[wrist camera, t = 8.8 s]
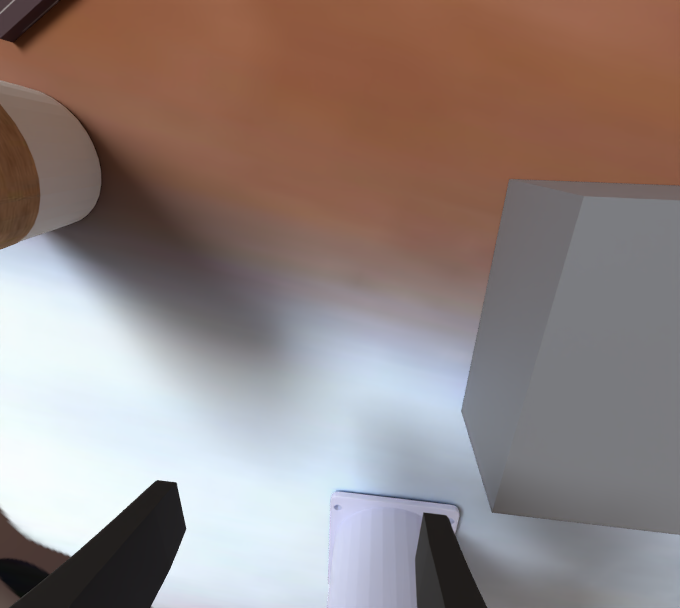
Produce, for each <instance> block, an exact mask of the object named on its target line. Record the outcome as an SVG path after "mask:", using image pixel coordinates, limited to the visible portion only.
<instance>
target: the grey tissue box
mask: <svg viewBox="0 0 680 608" xmlns="http://www.w3.org/2000/svg"><path fill="white" fill-rule="evenodd" d="M461 412H462V415H463V418H464V421H465V425H466V428H467V431H468V435H469V438H470V441H471V445H472V448H473V451H474V455H475V458H476V461H477V465H478V468H479V471H480V475H481V478H482V481H483V485H484V488H485V491H486V495H487V498H488V501H489V505H490V508H491V511H492V513H501V514H509V515H517V516H526V517H534V518H543V519H551V520H560V521H568V522H577V523H585V524H593V525H602V526H610V527H619V528H627V529H636V530H644V531H652V532H661V533H669V534H678V535H680V186H673V185H648V184H622V183H597V182H571V181H546V180H520V179H509V183H508V188H507V193H506V198H505V203H504V207H503V212H502V217H501V222H500V227H499V232H498V236H497V241H496V246H495V251H494V256H493V261H492V265H491V270H490V275H489V280H488V285H487V289H486V294H485V299H484V304H483V309H482V314H481V318H480V323H479V328H478V333H477V338H476V343H475V347H474V352H473V357H472V362H471V367H470V371H469V376H468V381H467V386H466V391H465V396H464V400H463V405H462V410H461Z"/></svg>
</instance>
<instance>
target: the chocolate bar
mask: <svg viewBox="0 0 680 608" xmlns="http://www.w3.org/2000/svg"><path fill="white" fill-rule="evenodd" d="M59 1H60V0H0V39H3V40H6V41H10V42H14V41H15V40H16V39H17V38H18V37H19V36H21V35H22V34H23V33H24V32H25V31H26V30H27V29H29V28H30V27H31V26H32V25H33V24H34V23H35V22H36V21H38V20H39V19H40V18H41V17H42V16H43V15H44V14H45V13H47V12H48V11H49V10H50V9H51V8H52V7H53V6H54V5H56V4H57V3H58V2H59Z"/></svg>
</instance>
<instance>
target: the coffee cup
mask: <svg viewBox="0 0 680 608" xmlns="http://www.w3.org/2000/svg"><path fill="white" fill-rule="evenodd" d="M100 189H101V168H100V163H99V158H98V156H97V153H96V150H95V147H94V145H93V143H92V141H91V139H90V137H89V135H88V134H87V132H86V130H85V129H84V128H83V126H82V125H81V123H80V122H79V121H78V119H77V118H76V117H75V116H74V115H73V114H72V113H71V112H70V111H69V110H68V109H67V108H66V107H64V106H63V105H62V104H60V103H59V102H57V101H56V100H55V99H53V98H52V97H50V96H48V95H46V94H44V93H42V92H40V91H36V90H33V89H30V88H26V87H23V86H19V85H16V84H12V83H8V82H4V81H1V80H0V249H3V248H6V247H8V246H11V245H13V244H16V243H18V242H20V241H23V240H26V239H29V238H31V237H34V236H37V235H40V234H43V233H46V232H49V231H52V230H55V229H58V228H61V227H64V226H67V225H69V224H72V223H74V222H77V221H79V220H81V219H83V218H84V217H85V216H87V215H88V214H89V213H90V212H91V210H92V209H93V208H94V206H95V204H96V202H97V200H98V197H99V194H100Z"/></svg>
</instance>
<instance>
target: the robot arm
mask: <svg viewBox="0 0 680 608" xmlns="http://www.w3.org/2000/svg"><path fill="white" fill-rule="evenodd" d="M459 516H460V515H459V509H458V508H457V507H456V506H454V505H449V504H440V503H432V502H423V501H415V500H406V499H398V498H389V497H381V496H372V495H364V494H355V493H347V492H334V493H332V494H331V499H330V529H329V564H328V584H329V592H328V600H327V608H487V606H486V604H485V602H484V600H483V598H482V596H481V594H480V592H479V590H478V588H477V585H476V583H475V581H474V579H473V577H472V574H471V572H470V570H469V568H468V565H467V563H466V561H465V558H464V556H463V554H462V551H461V549H460V546H459V544H458V541H457V539H456V536H455V533H456V529H457V525H458V521H459ZM185 531H186V526H185V521H184V516H183V511H182V507H181V502H180V497H179V492H178V488H177V483H176V482H168V481H159V480H157V481H155V482H154V483H153V484H152V485H151V486H150V487H149V488H147V489H146V490H145V491H144V492H143V493H142V494H141V495H140V496H139V497H138V498H137V499H135V500H134V501H133V502H132V503H131V504H130V505H129V506H128V507H127V508H126V509H125V510H123V511H122V512H121V513H120V514H119V515H118V516H117V517H116V518H115V519H114V520H112V521H111V522H110V523H109V524H108V525H107V526H106V527H105V528H104V529H102V530H101V531H100V532H99V533H98V534H97V535H96V536H95V537H93V538H92V539H91V540H90V541H89V542H88V543H87V544H85V545H84V546H83V547H82V548H81V549H80V550H79V551H78V552H76V553H75V554H74V555H73V556H72V557H71V558H69V559H68V560H67V561H66V562H65V563H63V564H62V565H61V566H60V567H59V568H57V569H56V570H55V571H54V572H53V573H51V574H50V575H49V576H48V577H46V578H45V579H44V580H43V581H42V582H40V583H39V584H38V585H37V586H36V587H34V588H33V589H32V590H31V591H29V592H28V593H27V594H26V595H24V596H23V597H22V598H21V599H19V600H18V601H17V602H16V603H14V604H13V605H12V606H10V607H9V608H150V607H151V605H152V603H153V601H154V599H155V597H156V595H157V593H158V591H159V590H160V588H161V586H162V584H163V582H164V580H165V578H166V576H167V574H168V572H169V570H170V568H171V566H172V563H173V561H174V558H175V556H176V554H177V551H178V549H179V546H180V544H181V541H182V538H183V536H184V533H185Z"/></svg>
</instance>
